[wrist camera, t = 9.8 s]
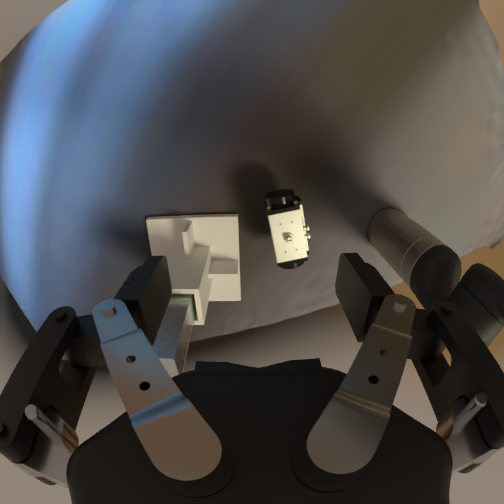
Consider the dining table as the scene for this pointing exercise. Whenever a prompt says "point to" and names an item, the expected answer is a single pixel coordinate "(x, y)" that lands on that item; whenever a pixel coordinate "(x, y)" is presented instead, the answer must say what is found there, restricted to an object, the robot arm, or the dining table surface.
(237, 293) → the stand base
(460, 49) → the dining table surface
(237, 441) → the robot arm
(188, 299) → the column
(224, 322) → the dining table surface
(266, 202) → the pneumatic valve
